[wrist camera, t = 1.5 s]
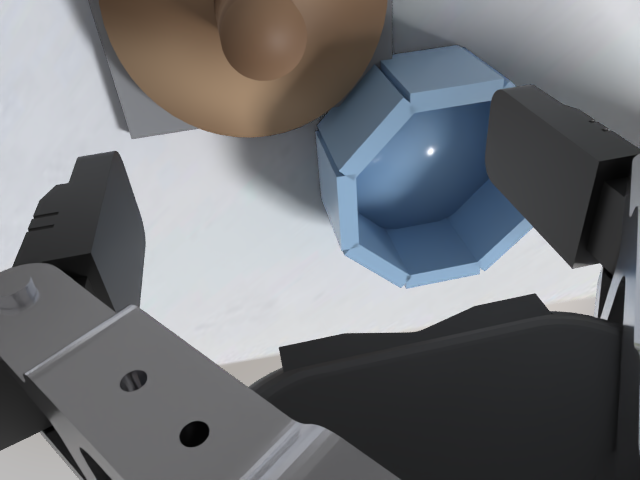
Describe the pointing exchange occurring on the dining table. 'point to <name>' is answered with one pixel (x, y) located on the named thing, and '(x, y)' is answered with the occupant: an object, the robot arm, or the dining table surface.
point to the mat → (155, 120)
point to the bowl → (417, 169)
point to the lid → (245, 57)
